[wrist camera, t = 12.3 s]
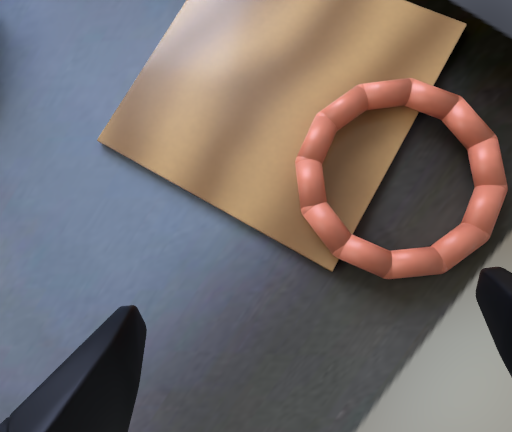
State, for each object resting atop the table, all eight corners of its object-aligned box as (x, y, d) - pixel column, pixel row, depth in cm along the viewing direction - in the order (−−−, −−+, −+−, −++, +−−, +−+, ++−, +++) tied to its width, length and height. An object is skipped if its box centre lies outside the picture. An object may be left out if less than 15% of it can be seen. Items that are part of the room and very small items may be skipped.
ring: (308, 286, 19) (512, 266, 19) (311, 287, 18) (531, 266, 17) (286, 100, 21) (474, 77, 20) (287, 88, 19) (488, 63, 19)
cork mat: (464, 28, 21) (467, 23, 21) (331, 272, 20) (332, 271, 19) (229, -61, 24) (228, -67, 24) (99, 142, 23) (96, 140, 22)
